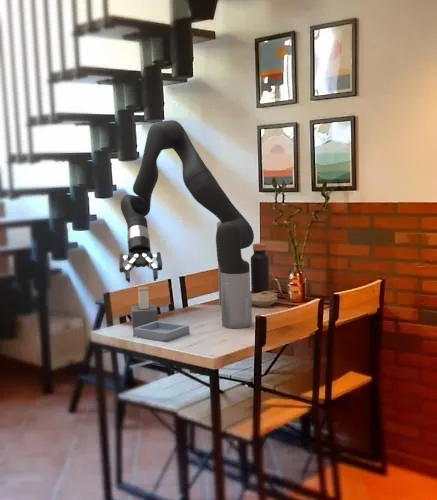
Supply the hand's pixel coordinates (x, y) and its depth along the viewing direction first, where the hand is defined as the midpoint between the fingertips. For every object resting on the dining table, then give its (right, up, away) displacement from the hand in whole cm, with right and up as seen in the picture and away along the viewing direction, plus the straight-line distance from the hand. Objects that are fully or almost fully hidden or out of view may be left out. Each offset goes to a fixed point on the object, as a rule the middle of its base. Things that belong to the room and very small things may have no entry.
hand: (142, 280), depth 228 cm
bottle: (+41, -8, +37) cm, 56 cm away
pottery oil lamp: (+40, -10, +20) cm, 46 cm away
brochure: (+30, -9, +29) cm, 42 cm away
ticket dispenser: (+1, -14, -3) cm, 15 cm away
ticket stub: (+1, -11, -4) cm, 12 cm away
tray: (+8, -16, -17) cm, 25 cm away
